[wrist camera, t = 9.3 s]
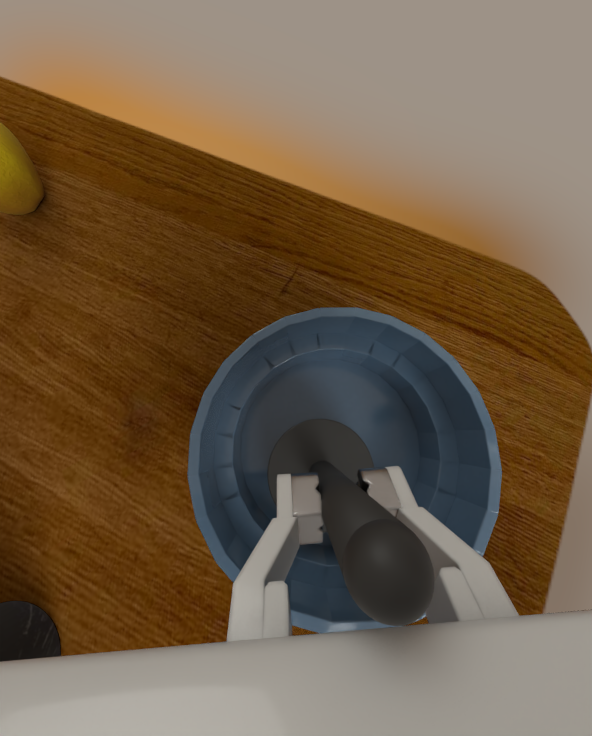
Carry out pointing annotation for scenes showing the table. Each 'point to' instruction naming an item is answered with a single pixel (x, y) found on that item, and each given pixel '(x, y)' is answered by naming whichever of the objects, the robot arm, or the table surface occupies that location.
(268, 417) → the bowl
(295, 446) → the joystick
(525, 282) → the table surface
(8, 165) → the yellow fruit
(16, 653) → the travel mug
